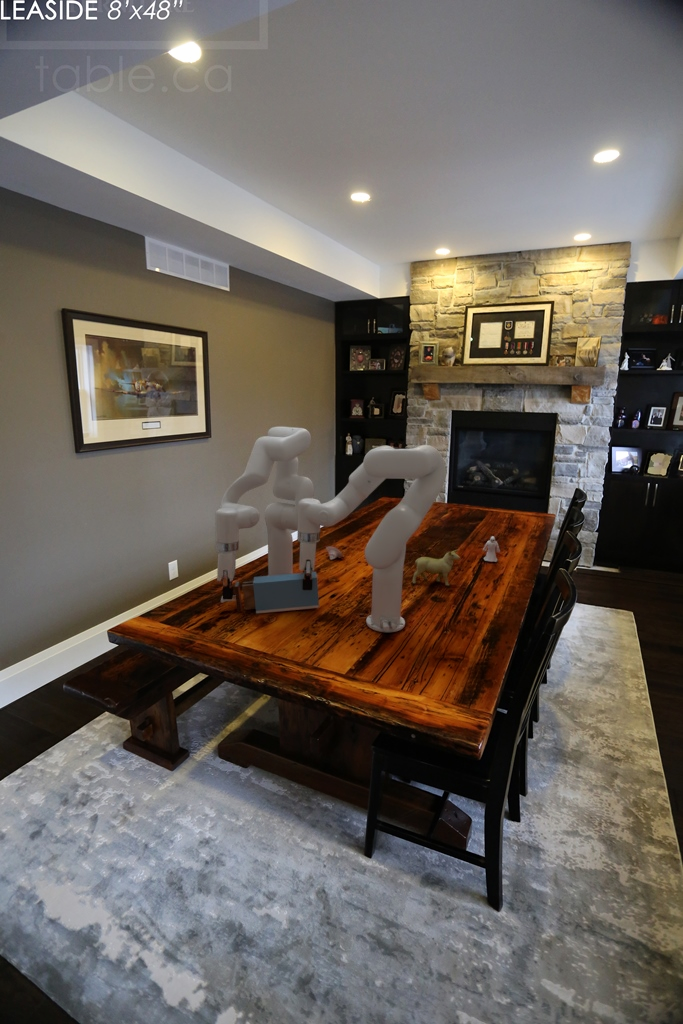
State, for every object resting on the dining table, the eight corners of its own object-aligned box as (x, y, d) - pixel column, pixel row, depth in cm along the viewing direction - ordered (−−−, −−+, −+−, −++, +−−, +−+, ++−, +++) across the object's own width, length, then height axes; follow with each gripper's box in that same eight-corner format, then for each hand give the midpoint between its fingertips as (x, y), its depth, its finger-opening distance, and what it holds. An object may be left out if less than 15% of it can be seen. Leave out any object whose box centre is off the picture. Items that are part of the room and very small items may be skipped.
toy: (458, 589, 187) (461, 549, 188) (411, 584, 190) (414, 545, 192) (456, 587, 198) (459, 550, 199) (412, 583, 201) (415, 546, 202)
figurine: (481, 562, 222) (483, 536, 219) (482, 556, 230) (484, 531, 227) (499, 564, 220) (501, 538, 217) (499, 558, 228) (501, 533, 225)
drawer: (221, 613, 168) (218, 588, 166) (223, 607, 172) (220, 582, 170) (297, 606, 170) (295, 581, 168) (297, 600, 175) (295, 576, 172)
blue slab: (256, 613, 169) (253, 583, 166) (256, 606, 174) (254, 576, 171) (319, 607, 171) (317, 577, 168) (318, 600, 176) (316, 571, 173)
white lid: (330, 566, 224) (319, 552, 223) (336, 559, 227) (325, 546, 227) (340, 561, 218) (328, 547, 217) (346, 554, 221) (335, 540, 220)
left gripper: (219, 539, 172) (219, 590, 175) (211, 552, 157) (212, 607, 161) (241, 540, 172) (241, 590, 176) (236, 552, 158) (236, 607, 161)
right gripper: (297, 528, 175) (296, 576, 179) (297, 543, 158) (295, 596, 163) (319, 528, 175) (317, 576, 180) (320, 544, 159) (318, 596, 163)
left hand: (227, 598), depth 168 cm, fingers closed
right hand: (307, 585), depth 171 cm, fingers closed on blue slab, 5 cm apart
